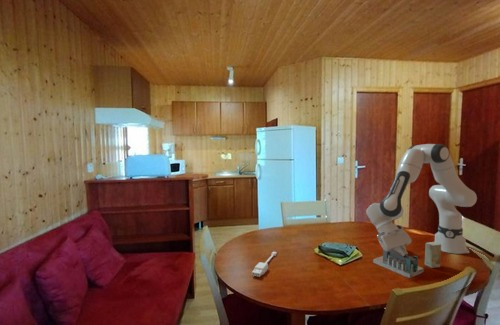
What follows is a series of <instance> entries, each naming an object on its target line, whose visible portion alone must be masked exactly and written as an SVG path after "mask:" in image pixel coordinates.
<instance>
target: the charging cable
mask: <svg viewBox="0 0 500 325" xmlns="http://www.w3.org/2000/svg"><path fill="white" fill-rule="evenodd" d="M277 255H278V254H277V251H272V252H271V253H270V256H269V257H268V258H267V260H265V262H262V261H261V262H258V263H257V264H256V265H255V266H254V268H253V270H252V271H251V275H252V276H255V277H259V278H260V277H261V276H262V275H264V274H265V273H266V272H267V271H268V269H269V264H268V263H269V262H270V261H271V260H272V258H273V257H276V256H277Z"/></svg>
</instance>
